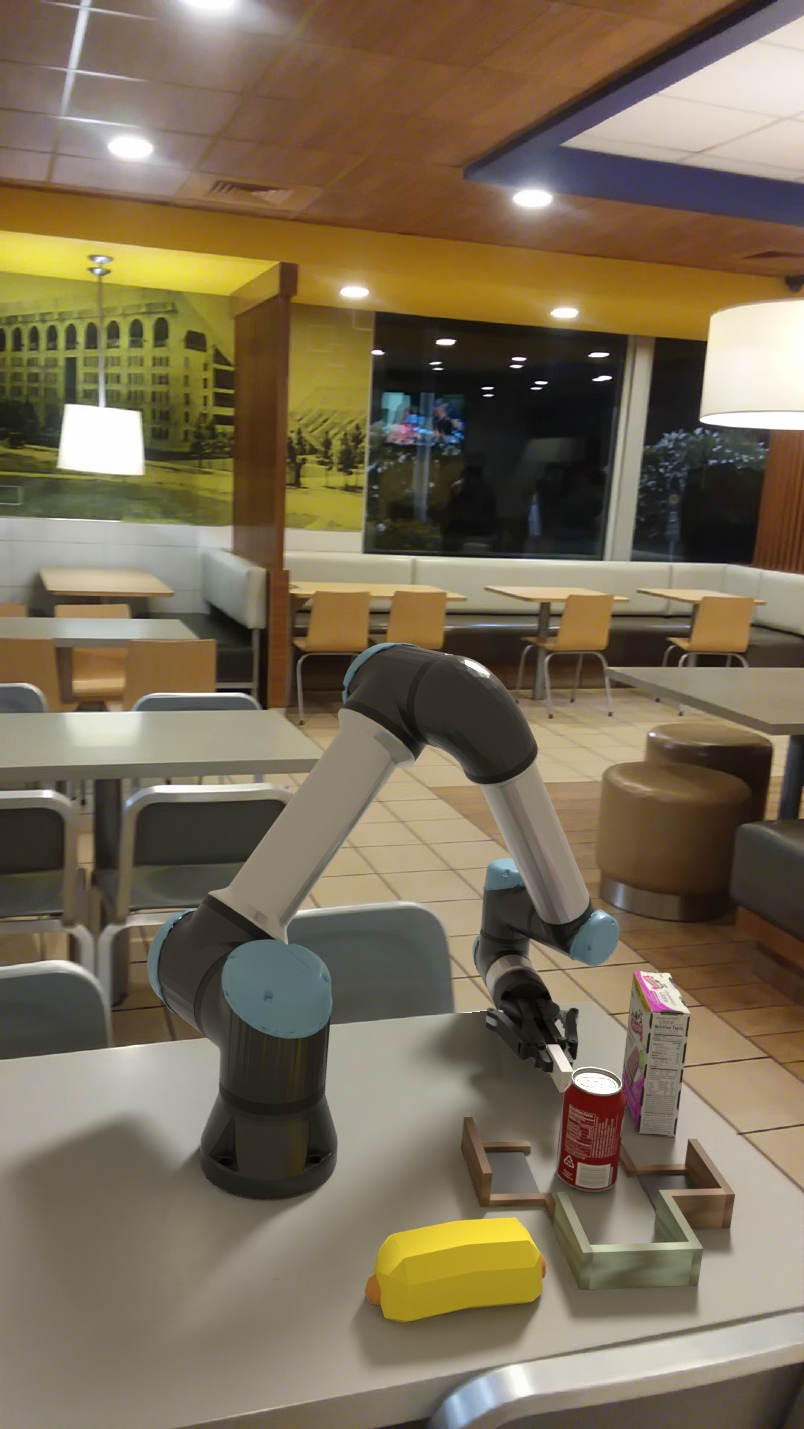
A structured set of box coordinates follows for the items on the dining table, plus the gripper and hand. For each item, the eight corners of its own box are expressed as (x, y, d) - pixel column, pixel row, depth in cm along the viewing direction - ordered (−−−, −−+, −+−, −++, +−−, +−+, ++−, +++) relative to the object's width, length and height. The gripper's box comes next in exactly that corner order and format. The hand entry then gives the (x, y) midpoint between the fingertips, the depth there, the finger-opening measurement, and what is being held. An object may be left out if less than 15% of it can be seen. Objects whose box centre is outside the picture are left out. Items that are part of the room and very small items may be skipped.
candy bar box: (617, 1086, 140) (631, 968, 137) (656, 1089, 140) (671, 971, 137) (635, 1136, 129) (650, 1009, 126) (676, 1139, 129) (693, 1012, 126)
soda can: (615, 1202, 116) (628, 1101, 114) (553, 1190, 117) (564, 1090, 115) (616, 1166, 122) (627, 1069, 120) (556, 1155, 124) (567, 1059, 121)
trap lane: (507, 1292, 101) (511, 1255, 101) (460, 1148, 124) (463, 1116, 123) (765, 1282, 105) (771, 1246, 104) (675, 1144, 128) (679, 1113, 127)
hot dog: (353, 1280, 102) (374, 1341, 95) (357, 1217, 100) (379, 1274, 93) (528, 1254, 107) (561, 1310, 100) (534, 1194, 106) (568, 1247, 99)
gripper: (560, 1017, 152) (616, 1110, 129) (470, 1017, 150) (510, 1111, 127) (565, 967, 151) (622, 1052, 128) (475, 967, 149) (516, 1053, 126)
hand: (566, 1082), depth 128 cm, fingers closed
